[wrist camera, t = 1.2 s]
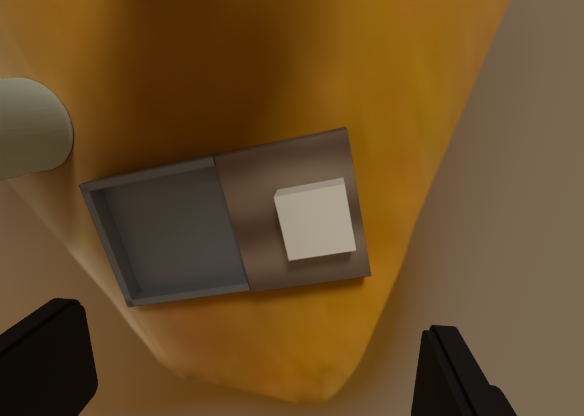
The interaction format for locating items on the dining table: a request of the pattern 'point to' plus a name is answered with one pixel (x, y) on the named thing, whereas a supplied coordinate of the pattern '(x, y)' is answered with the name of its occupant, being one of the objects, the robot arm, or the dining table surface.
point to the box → (167, 232)
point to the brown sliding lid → (263, 214)
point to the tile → (315, 219)
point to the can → (31, 128)
